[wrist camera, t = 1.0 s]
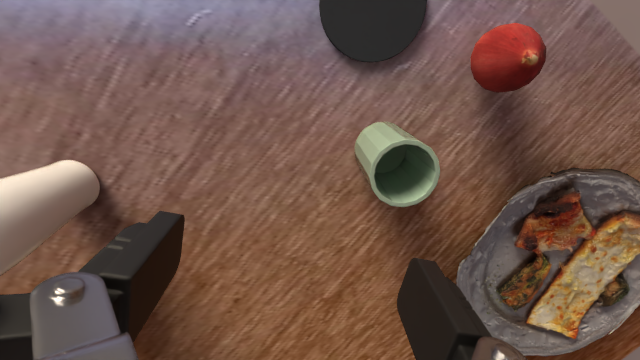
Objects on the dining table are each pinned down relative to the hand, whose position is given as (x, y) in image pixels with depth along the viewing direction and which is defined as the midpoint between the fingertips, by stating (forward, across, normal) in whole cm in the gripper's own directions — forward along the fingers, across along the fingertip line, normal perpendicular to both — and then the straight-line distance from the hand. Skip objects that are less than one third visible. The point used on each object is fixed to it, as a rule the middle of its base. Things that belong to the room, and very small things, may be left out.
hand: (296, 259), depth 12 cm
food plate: (+25, -34, +10) cm, 43 cm away
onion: (+25, -16, -11) cm, 32 cm away
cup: (+25, -9, 0) cm, 26 cm away
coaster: (+25, -4, -13) cm, 28 cm away
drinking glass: (+25, +22, +11) cm, 35 cm away
